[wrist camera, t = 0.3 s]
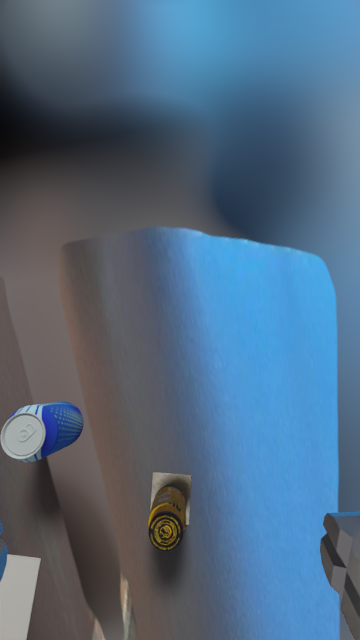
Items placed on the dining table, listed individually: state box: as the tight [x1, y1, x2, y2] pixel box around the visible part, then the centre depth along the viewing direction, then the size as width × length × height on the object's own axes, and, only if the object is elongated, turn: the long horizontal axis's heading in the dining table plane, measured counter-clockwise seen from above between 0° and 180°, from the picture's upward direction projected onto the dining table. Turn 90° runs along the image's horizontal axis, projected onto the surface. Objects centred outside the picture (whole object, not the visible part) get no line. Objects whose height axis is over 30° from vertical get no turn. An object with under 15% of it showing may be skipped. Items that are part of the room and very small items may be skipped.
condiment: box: [148, 472, 191, 551], centre depth 51 cm, size 7×8×12 cm
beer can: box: [1, 402, 83, 462], centre depth 52 cm, size 8×8×16 cm
